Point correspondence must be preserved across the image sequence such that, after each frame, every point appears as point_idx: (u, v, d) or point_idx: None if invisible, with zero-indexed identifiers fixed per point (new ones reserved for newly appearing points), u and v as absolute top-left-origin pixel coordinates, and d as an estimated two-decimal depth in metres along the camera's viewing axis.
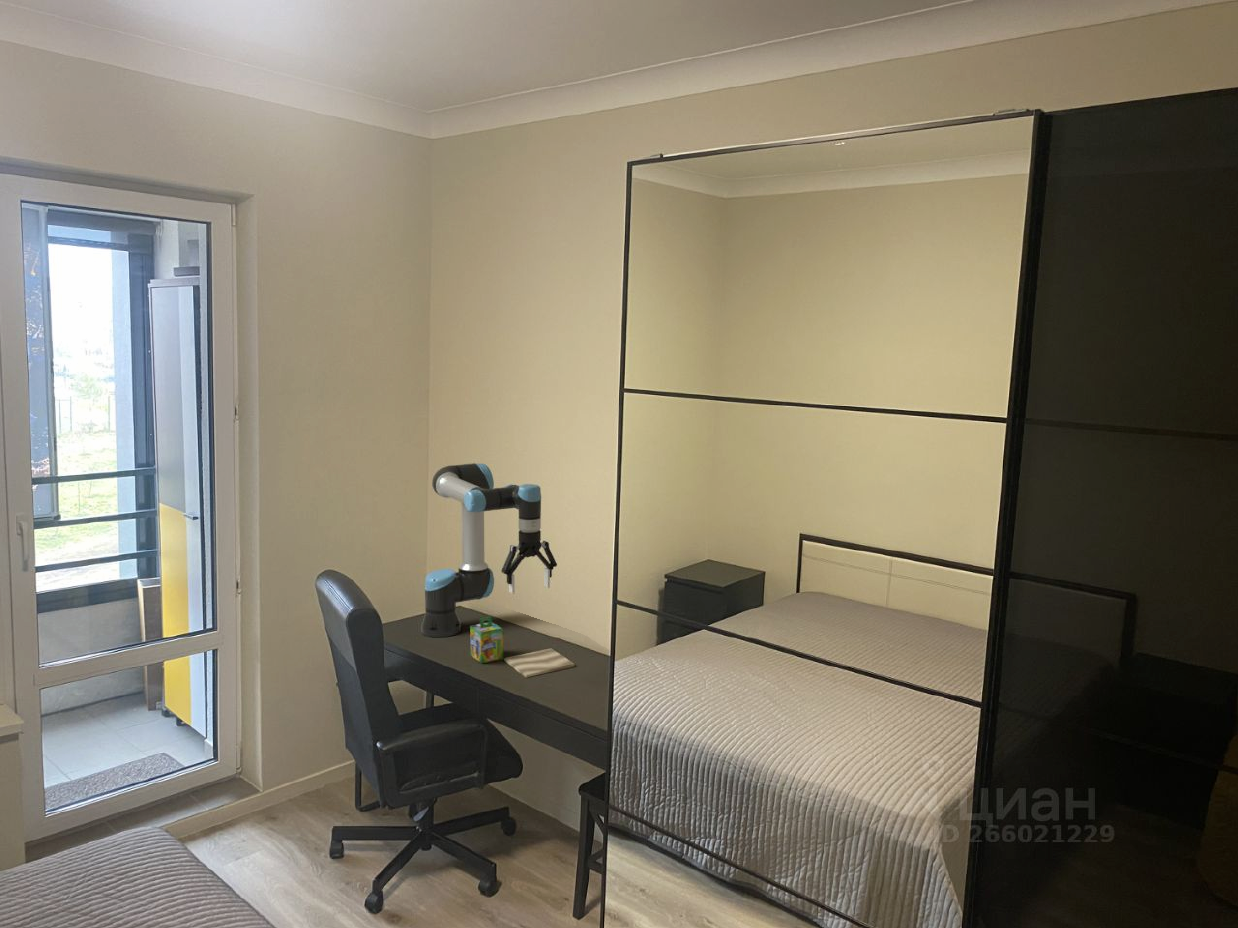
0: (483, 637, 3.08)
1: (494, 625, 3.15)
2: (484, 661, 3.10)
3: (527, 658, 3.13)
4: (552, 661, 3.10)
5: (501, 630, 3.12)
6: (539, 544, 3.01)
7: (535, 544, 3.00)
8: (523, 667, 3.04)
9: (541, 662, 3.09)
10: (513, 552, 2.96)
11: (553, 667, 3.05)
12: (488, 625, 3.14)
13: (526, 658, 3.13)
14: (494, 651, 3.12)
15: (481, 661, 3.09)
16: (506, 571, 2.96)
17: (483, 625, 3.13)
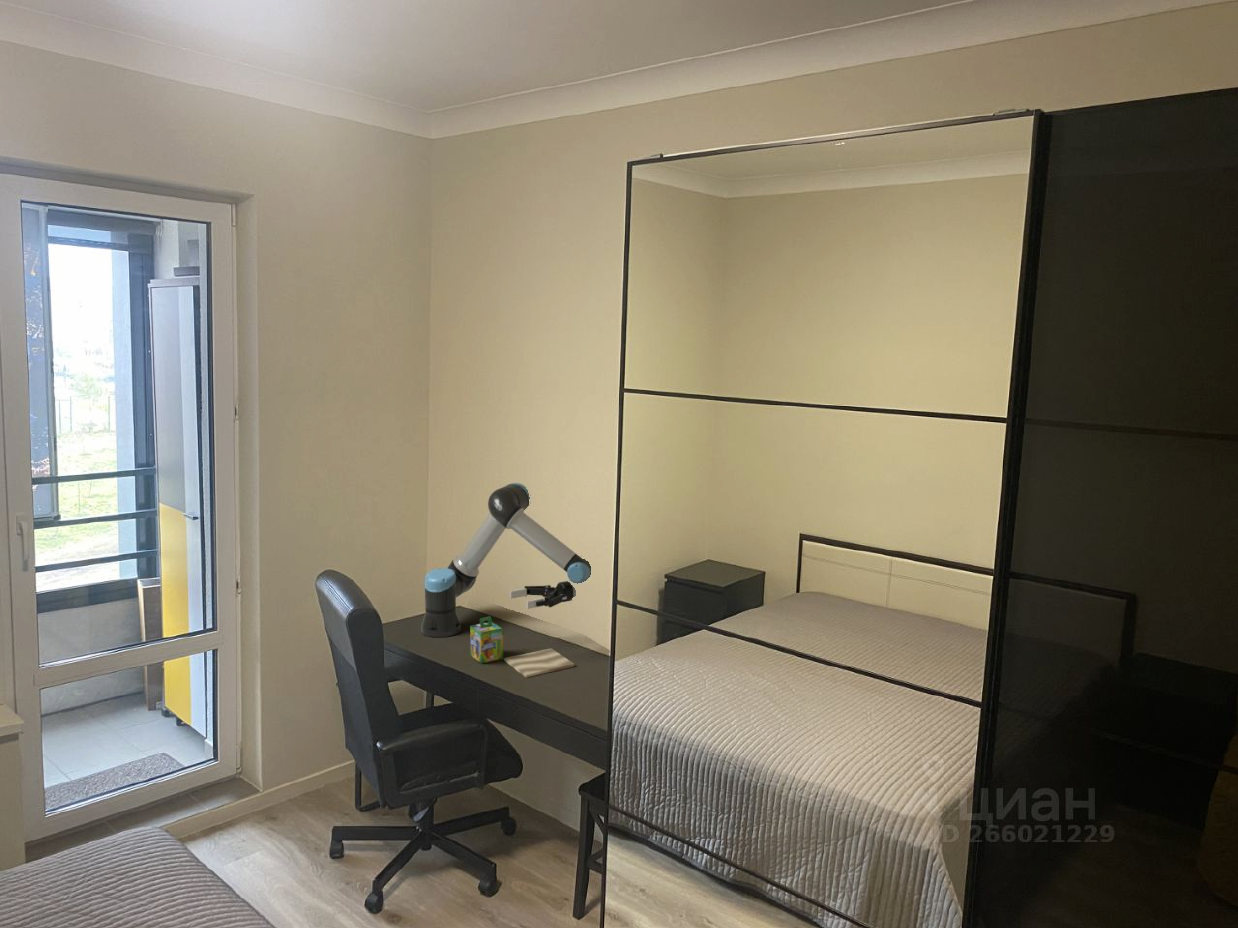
0: (483, 637, 3.08)
1: (494, 625, 3.15)
2: (484, 661, 3.10)
3: (527, 658, 3.13)
4: (552, 661, 3.10)
5: (501, 630, 3.12)
6: None
7: None
8: (523, 667, 3.04)
9: (541, 662, 3.09)
10: None
11: (553, 667, 3.05)
12: (488, 625, 3.14)
13: (526, 658, 3.13)
14: (494, 651, 3.12)
15: (481, 661, 3.09)
16: None
17: (483, 625, 3.13)
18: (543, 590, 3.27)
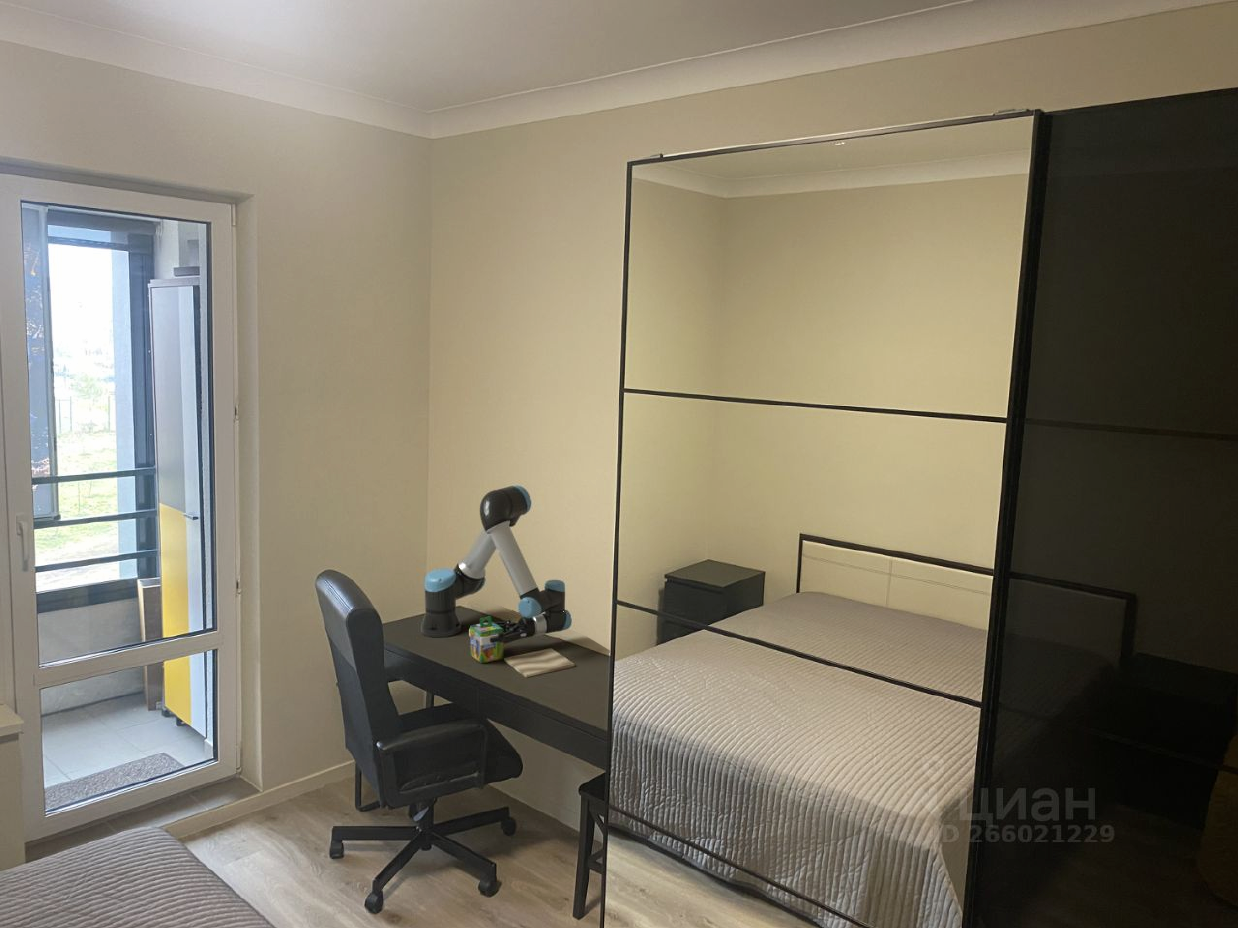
0: None
1: (494, 625, 3.15)
2: (484, 661, 3.10)
3: (527, 658, 3.13)
4: (552, 661, 3.10)
5: (501, 630, 3.12)
6: None
7: None
8: (523, 667, 3.04)
9: (541, 662, 3.09)
10: None
11: (553, 667, 3.05)
12: (488, 625, 3.14)
13: (526, 658, 3.13)
14: (494, 651, 3.12)
15: (481, 661, 3.09)
16: None
17: (483, 625, 3.13)
18: (504, 626, 3.20)
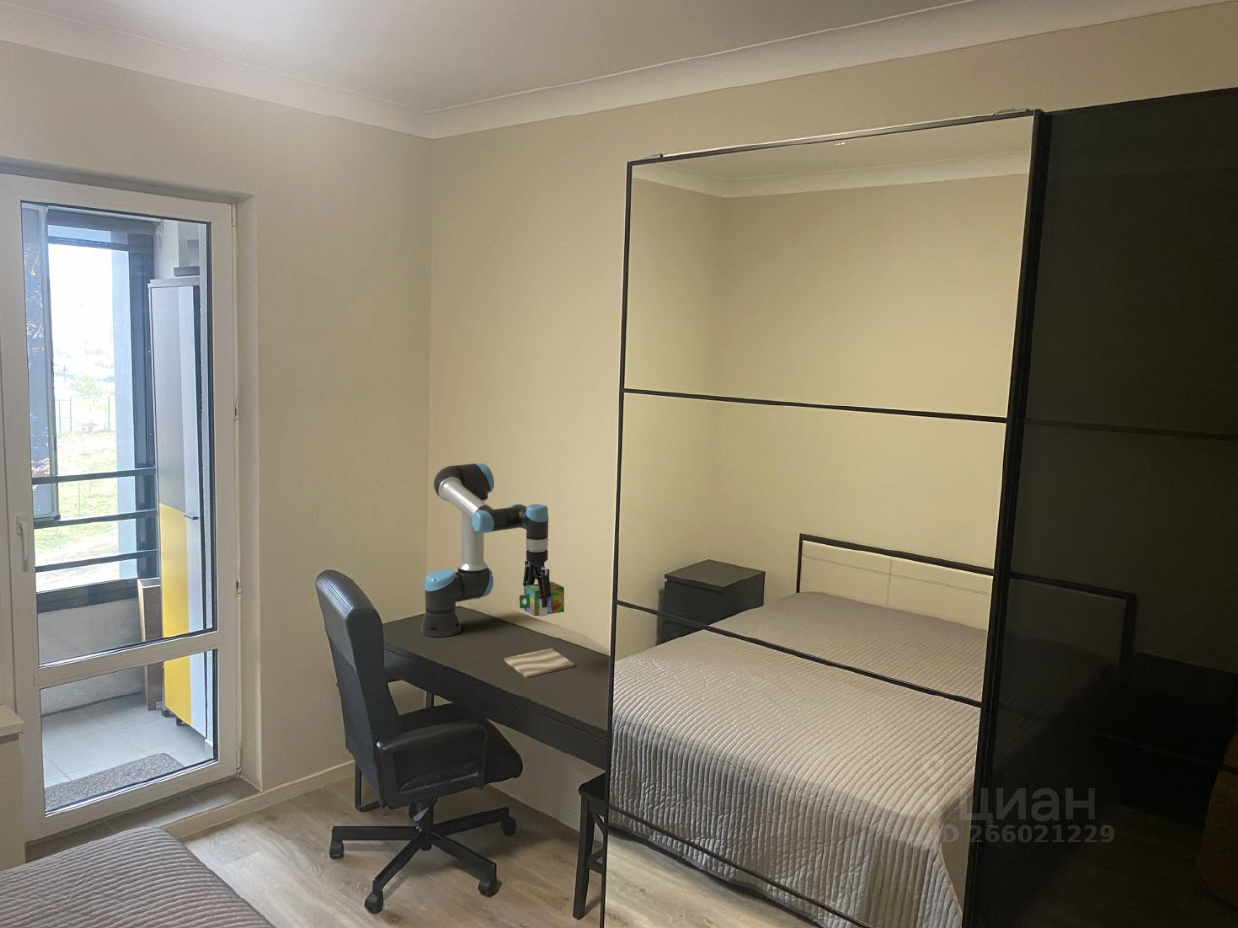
0: None
1: (529, 592, 3.04)
2: (563, 608, 3.07)
3: (527, 658, 3.13)
4: (552, 661, 3.10)
5: (536, 593, 3.01)
6: None
7: None
8: (523, 667, 3.04)
9: (541, 662, 3.09)
10: None
11: (553, 667, 3.05)
12: (528, 599, 3.04)
13: (526, 658, 3.13)
14: (555, 598, 3.05)
15: (562, 611, 3.07)
16: None
17: (527, 604, 3.05)
18: (531, 575, 3.06)
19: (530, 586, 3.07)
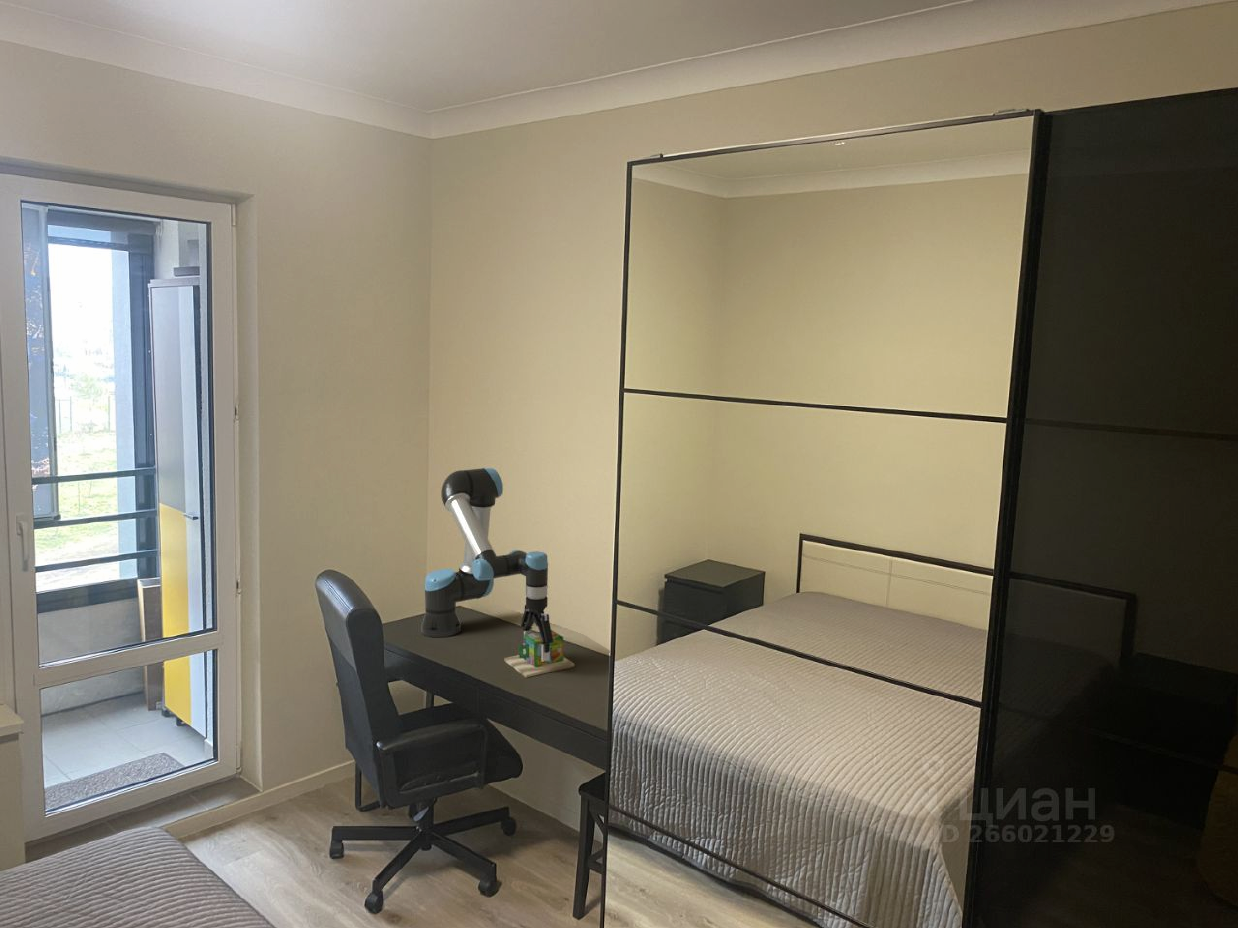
0: (539, 663, 3.05)
1: (528, 642, 3.07)
2: (561, 657, 3.10)
3: None
4: None
5: (536, 644, 3.04)
6: None
7: None
8: (523, 667, 3.04)
9: None
10: (548, 620, 3.02)
11: (553, 667, 3.05)
12: (527, 649, 3.07)
13: None
14: (554, 648, 3.08)
15: (561, 660, 3.10)
16: None
17: (526, 654, 3.07)
18: (530, 619, 3.09)
19: (529, 636, 3.09)
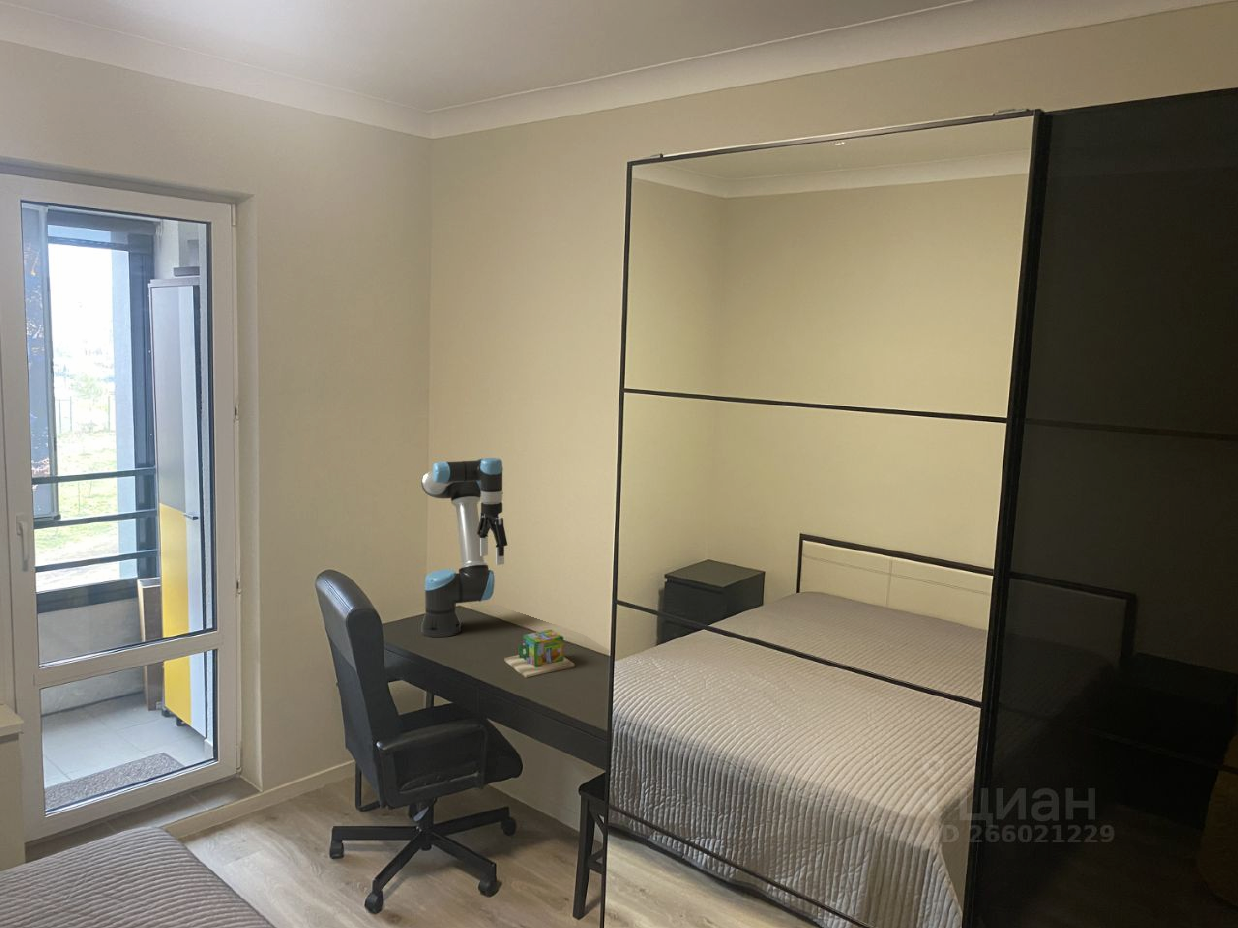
0: (539, 663, 3.05)
1: (528, 642, 3.07)
2: (561, 657, 3.10)
3: None
4: None
5: (536, 644, 3.04)
6: None
7: None
8: (523, 667, 3.04)
9: None
10: (502, 524, 3.08)
11: (553, 667, 3.05)
12: (527, 649, 3.07)
13: None
14: (554, 648, 3.08)
15: (561, 660, 3.10)
16: None
17: (526, 654, 3.07)
18: (486, 526, 3.15)
19: (529, 636, 3.09)
